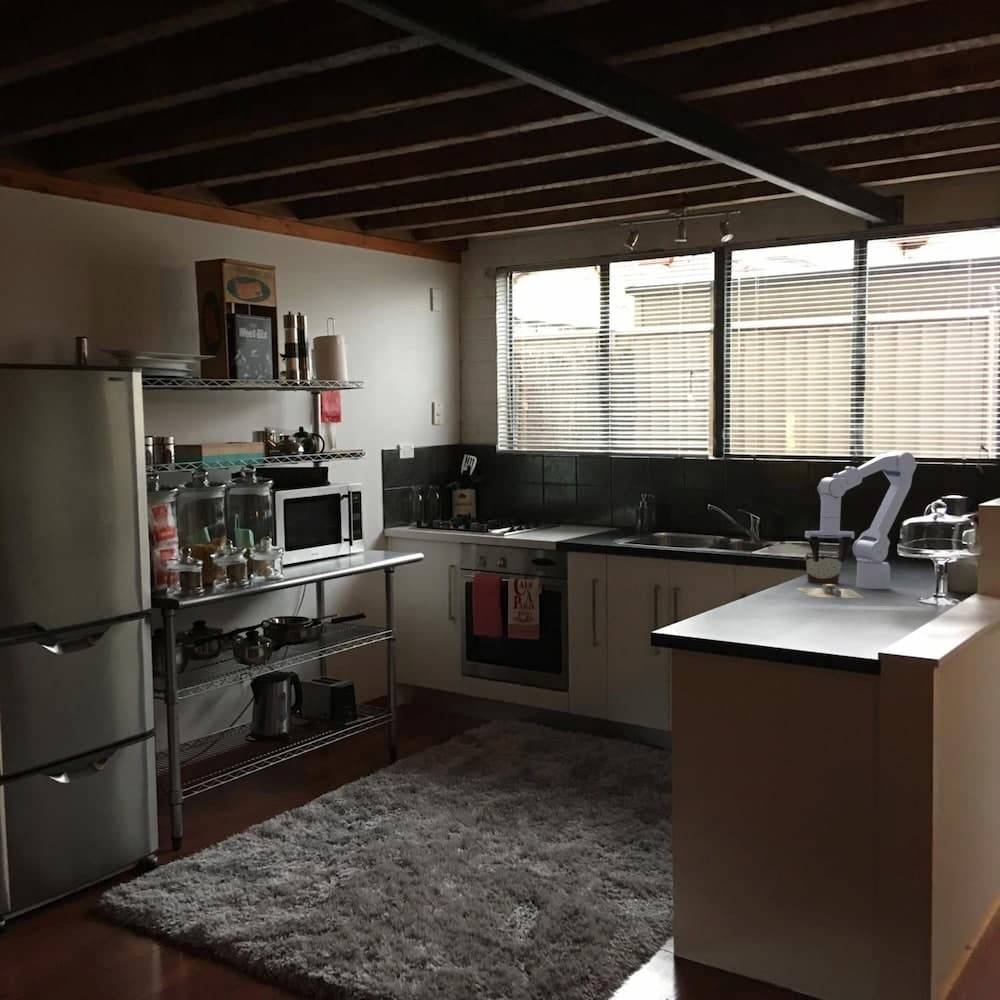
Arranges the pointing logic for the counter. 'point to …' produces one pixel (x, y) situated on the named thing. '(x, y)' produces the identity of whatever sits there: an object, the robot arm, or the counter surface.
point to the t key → (831, 590)
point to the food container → (823, 568)
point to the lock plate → (820, 593)
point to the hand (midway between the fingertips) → (828, 561)
